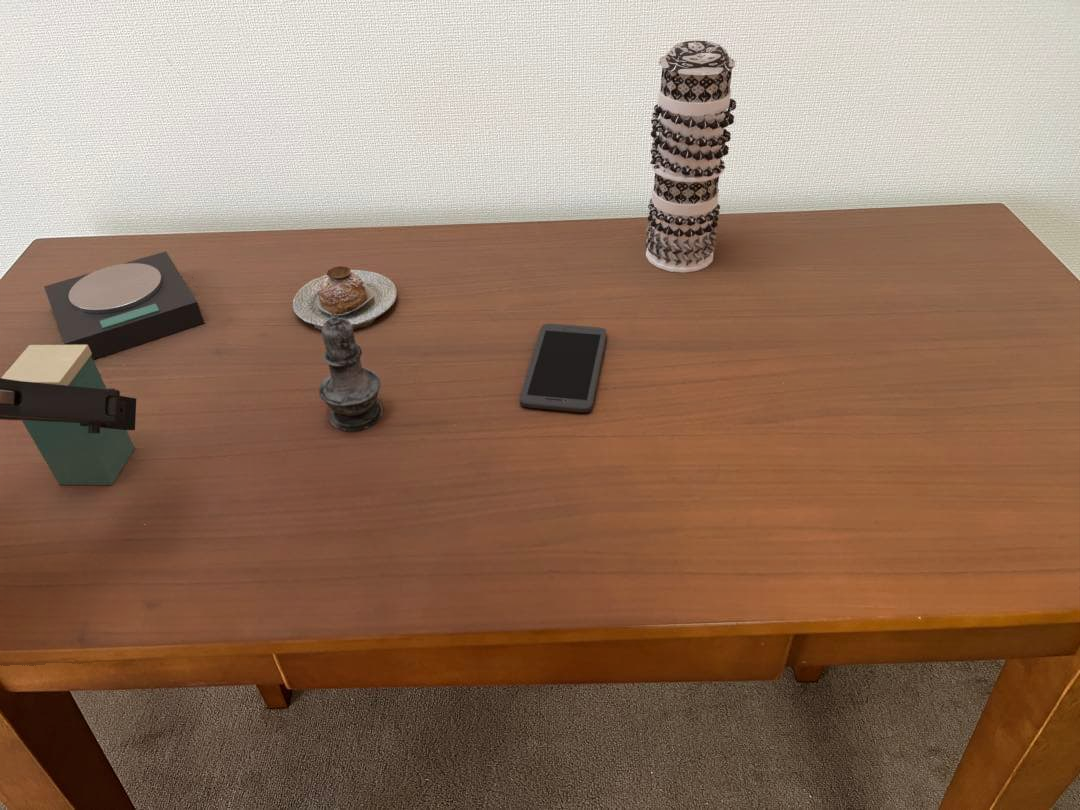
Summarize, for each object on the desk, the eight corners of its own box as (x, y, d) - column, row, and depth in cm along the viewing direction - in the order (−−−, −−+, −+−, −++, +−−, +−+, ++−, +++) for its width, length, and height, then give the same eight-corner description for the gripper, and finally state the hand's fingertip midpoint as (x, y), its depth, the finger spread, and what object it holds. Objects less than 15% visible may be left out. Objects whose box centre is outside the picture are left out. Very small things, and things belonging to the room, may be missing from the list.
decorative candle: (722, 273, 99) (751, 60, 83) (646, 275, 100) (660, 62, 83) (711, 236, 106) (735, 33, 90) (639, 238, 107) (651, 35, 90)
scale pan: (79, 324, 89) (76, 319, 89) (63, 284, 96) (61, 280, 96) (172, 295, 93) (170, 290, 93) (151, 258, 100) (149, 254, 100)
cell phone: (607, 332, 90) (607, 327, 90) (591, 414, 80) (591, 408, 79) (542, 327, 91) (541, 322, 91) (517, 407, 81) (517, 401, 81)
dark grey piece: (333, 440, 78) (306, 338, 71) (320, 404, 82) (294, 304, 75) (393, 423, 80) (373, 321, 72) (377, 388, 84) (357, 289, 76)
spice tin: (113, 486, 74) (59, 382, 67) (57, 485, 75) (-3, 382, 67) (136, 447, 78) (87, 344, 71) (83, 446, 79) (29, 344, 71)
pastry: (276, 303, 97) (267, 270, 94) (363, 267, 103) (357, 234, 100) (327, 347, 90) (318, 312, 87) (417, 305, 96) (412, 271, 93)
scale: (75, 366, 89) (63, 342, 87) (54, 307, 98) (43, 284, 96) (204, 323, 94) (196, 299, 92) (173, 271, 103) (165, 249, 101)
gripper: (-378, 450, 49) (-91, 457, 70) (26, 452, 48) (195, 458, 69) (-366, 326, 50) (-85, 370, 71) (33, 325, 49) (198, 370, 70)
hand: (54, 414), depth 70 cm, fingers open, 13 cm apart
